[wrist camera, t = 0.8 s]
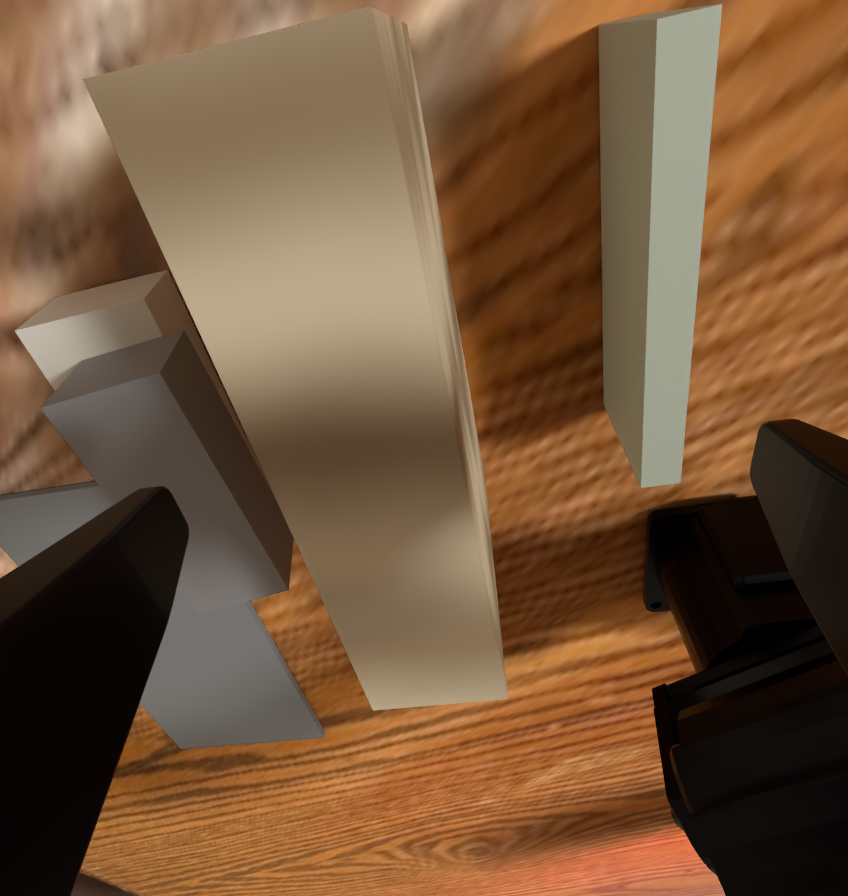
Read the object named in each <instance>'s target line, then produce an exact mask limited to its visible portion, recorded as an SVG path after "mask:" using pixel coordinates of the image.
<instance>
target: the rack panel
mask: <svg viewBox="0 0 848 896" xmlns="http://www.w3.org/2000/svg"><path fill="white" fill-rule="evenodd" d="M721 11H722V4H718V5H710V6H703V7H695V8H687V9H680V10H672V11H664V12H657V13H649V14H643V15H639V16H635V17H630V18H626V19H622V20H618V21H613V22H609V23H605V24H601V25H599V96H600V169H601V242H602V316H603V389H604V407H605V409H606V411H607V413H608V416H609V418H610V420H611V422H612V425H613V427H614V429H615V431H616V433H617V436H618V438H619V440H620V442H621V445H622V447H623V449H624V451H625V453H626V456H627V458H628V460H629V462H630V465H631V467H632V469H633V471H634V474H635V476H636V478H637V480H638V482H639V485H640V487H641V488H645V487H652V486H660V485H668V484H675V483H681V472H682V461H683V449H684V438H685V426H686V415H687V403H688V392H689V380H690V369H691V357H692V346H693V334H694V323H695V311H696V299H697V288H698V276H699V265H700V253H701V242H702V230H703V219H704V207H705V196H706V184H707V173H708V161H709V150H710V138H711V127H712V115H713V104H714V92H715V80H716V69H717V57H718V46H719V34H720V23H721Z"/></svg>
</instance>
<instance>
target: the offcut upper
mask: <svg viewBox="0 0 848 896" xmlns="http://www.w3.org/2000/svg"><path fill="white" fill-rule="evenodd" d="M40 409H41V410H42V411H43V413H44V414H45V415H46V417H47V418H48V419H49V421H50V422H51V423H52V425H53V426H54V427H55V428H56V430H57V431H58V432H59V434H60V435H61V436H62V438H63V439H64V440H65V442H66V443H67V444H68V445H69V447H70V448H71V449H72V451H73V452H74V453H75V455H76V456H77V457H78V458H79V460H80V461H81V462H82V464H83V465H84V466H85V468H86V469H87V470H88V472H89V473H90V474H91V475H92V477H93V478H94V479H95V481H96V482H97V483H98V485H99V486H100V487H101V488H102V490H103V491H104V492H105V494H106V495H107V496H108V498H109V499H110V500H111V502H112V503H113V504H116V503H117V502H119V501H120V500H122V499H123V498H125V497H126V496H128V495H130V494H131V493H133V492H134V491H136V490H138V489H140V488H147V487H156V486H163V487H166V488H168V489H169V490H170V492H171V493H172V495H173V497H174V499H175V500H176V502H177V504H178V506H179V508H180V510H181V512H182V514H183V515H184V517H185V519H186V521H187V523H188V527H189V540H188V544H187V548H186V552H185V556H184V561H183V565H182V569H181V573H180V577H179V581H178V586H177V588H178V589H179V590H180V592H181V593H182V594H183V595H184V597H185V598H186V599H187V601H188V602H189V603H190V605H191V606H192V607H193V609H194V610H195V611H196V612H197V614H198V615H201V614H204V613H208V612H211V611H215V610H219V609H222V608H226V607H229V606H233V605H237V604H240V603H244V602H247V601H251V600H254V599H258V598H262V597H265V596H269V595H272V594H276V593H280V592H283V591H287V590H289V581H290V570H291V559H292V548H293V538H294V537H293V535H292V533H291V531H290V529H289V527H288V524H287V522H286V520H285V518H284V516H283V514H282V511H281V509H280V507H279V505H278V503H277V501H276V499H275V497H274V495H273V493H272V491H271V489H270V488H269V486H268V484H267V482H266V480H265V478H264V476H263V475H262V473H261V471H260V469H259V467H258V465H257V463H256V462H255V460H254V458H253V456H252V454H251V452H250V450H249V449H248V447H247V445H246V443H245V441H244V439H243V437H242V436H241V434H240V432H239V430H238V428H237V426H236V424H235V423H234V421H233V419H232V417H231V415H230V413H229V412H228V410H227V408H226V406H225V404H224V402H223V400H222V399H221V397H220V395H219V393H218V391H217V389H216V387H215V386H214V384H213V382H212V380H211V378H210V376H209V374H208V373H207V371H206V369H205V367H204V365H203V363H202V361H201V360H200V358H199V356H198V354H197V352H196V350H195V348H194V347H193V345H192V343H191V341H190V339H189V337H188V335H187V334H186V332H185V330H182V331H178V332H175V333H172V334H168V335H165V336H162V337H158V338H155V339H152V340H148V341H145V342H142V343H138V344H135V345H132V346H128V347H125V348H122V349H118V350H115V351H112V352H108V353H105V354H102V355H98V356H95V357H91V358H88V359H85V360H81V362H80V363H79V364H78V365H77V366H76V367H75V369H74V370H73V371H72V372H71V373H70V374H69V375H68V377H67V378H66V379H65V380H64V381H63V382H62V383H61V385H60V386H59V387H58V388H57V389H56V390H55V392H54V393H53V394H52V395H51V396H50V397H49V398H48V400H47V401H46V402H45V403H44V404H43V405H42V406H41V408H40Z"/></svg>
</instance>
